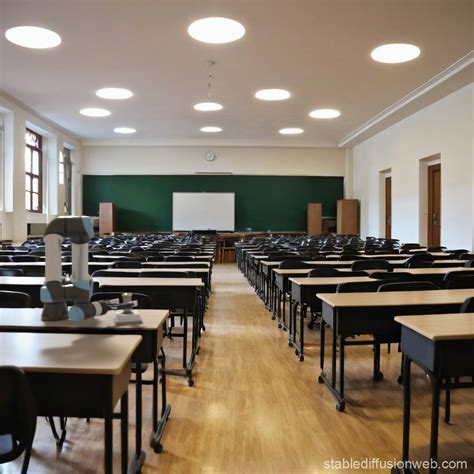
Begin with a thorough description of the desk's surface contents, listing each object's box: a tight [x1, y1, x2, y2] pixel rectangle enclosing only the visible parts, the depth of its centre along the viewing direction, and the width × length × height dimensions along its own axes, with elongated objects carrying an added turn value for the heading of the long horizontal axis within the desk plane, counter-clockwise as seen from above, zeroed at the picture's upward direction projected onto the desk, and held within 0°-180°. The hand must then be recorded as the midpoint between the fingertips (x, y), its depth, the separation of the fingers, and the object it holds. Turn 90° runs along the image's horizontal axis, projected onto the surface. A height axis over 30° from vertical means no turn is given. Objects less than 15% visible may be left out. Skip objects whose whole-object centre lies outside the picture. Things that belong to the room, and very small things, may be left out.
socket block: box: [113, 309, 143, 326], centre depth 242 cm, size 14×14×4 cm
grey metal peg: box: [121, 292, 133, 314], centre depth 242 cm, size 5×5×14 cm
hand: (127, 302), depth 241 cm, fingers open, 13 cm apart
